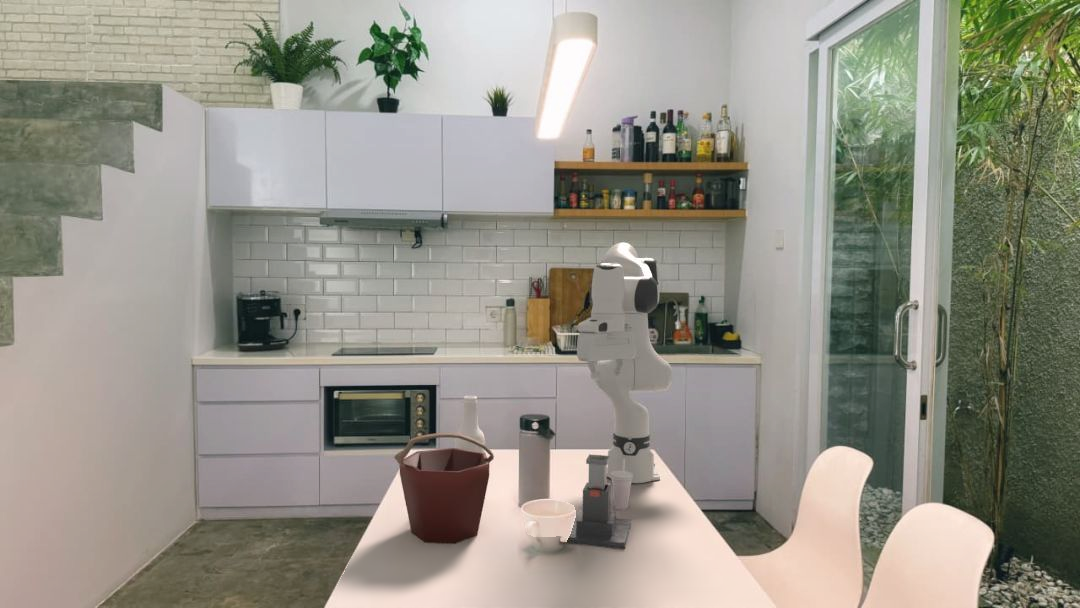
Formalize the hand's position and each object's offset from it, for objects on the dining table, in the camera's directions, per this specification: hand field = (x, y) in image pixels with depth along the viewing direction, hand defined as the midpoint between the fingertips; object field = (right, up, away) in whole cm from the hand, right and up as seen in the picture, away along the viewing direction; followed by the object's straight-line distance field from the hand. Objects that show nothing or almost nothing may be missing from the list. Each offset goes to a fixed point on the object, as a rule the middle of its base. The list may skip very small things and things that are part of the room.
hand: (606, 377), depth 181 cm
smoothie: (+5, -39, +14) cm, 42 cm away
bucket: (-42, -39, -5) cm, 58 cm away
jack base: (-3, -40, -5) cm, 40 cm away
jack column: (-3, -38, -5) cm, 38 cm away
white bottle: (-38, -38, +20) cm, 58 cm away
